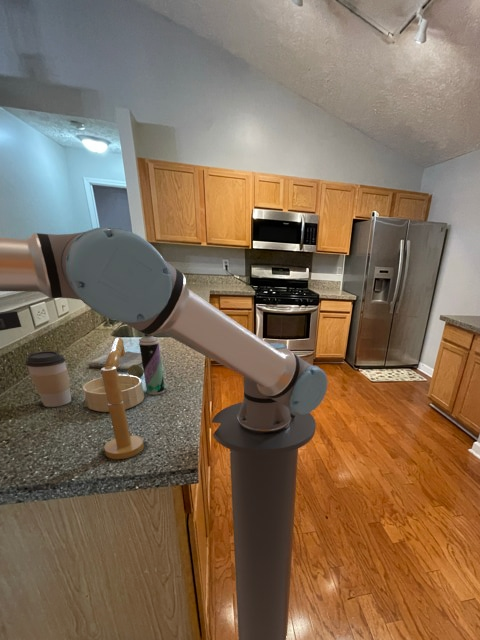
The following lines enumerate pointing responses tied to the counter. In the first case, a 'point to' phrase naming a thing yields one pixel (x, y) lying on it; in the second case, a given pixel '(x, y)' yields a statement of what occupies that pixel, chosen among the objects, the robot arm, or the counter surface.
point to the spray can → (152, 364)
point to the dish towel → (123, 363)
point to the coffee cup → (50, 377)
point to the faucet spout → (113, 372)
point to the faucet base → (122, 435)
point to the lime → (136, 371)
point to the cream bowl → (128, 387)
